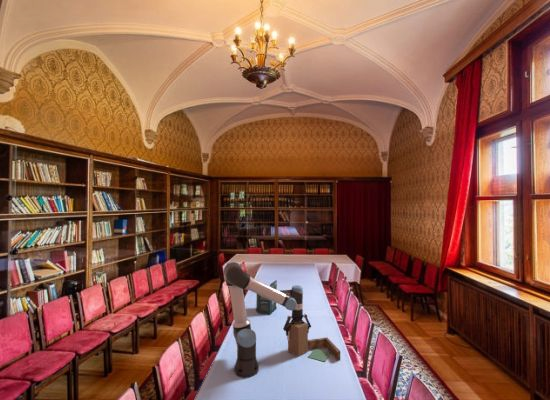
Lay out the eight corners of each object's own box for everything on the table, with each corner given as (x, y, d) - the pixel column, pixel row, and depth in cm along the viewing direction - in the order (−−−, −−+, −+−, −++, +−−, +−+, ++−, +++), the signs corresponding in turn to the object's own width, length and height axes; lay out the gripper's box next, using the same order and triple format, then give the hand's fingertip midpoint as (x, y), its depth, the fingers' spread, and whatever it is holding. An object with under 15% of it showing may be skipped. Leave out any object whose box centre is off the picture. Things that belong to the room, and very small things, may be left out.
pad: (324, 362, 196) (324, 361, 196) (307, 357, 202) (307, 356, 202) (330, 353, 207) (330, 353, 207) (314, 349, 212) (314, 348, 212)
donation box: (270, 315, 273) (270, 284, 272) (254, 312, 279) (254, 282, 278) (276, 308, 288) (276, 279, 287) (261, 306, 294) (261, 278, 293)
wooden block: (297, 346, 216) (297, 318, 216) (308, 351, 209) (308, 323, 209) (287, 351, 209) (287, 323, 209) (298, 357, 202) (298, 327, 202)
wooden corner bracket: (318, 363, 194) (318, 354, 194) (306, 348, 213) (306, 340, 213) (340, 360, 199) (340, 351, 198) (327, 345, 218) (327, 337, 218)
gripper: (281, 312, 202) (282, 343, 202) (315, 308, 209) (315, 338, 209) (278, 308, 209) (278, 338, 210) (311, 304, 216) (311, 334, 216)
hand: (297, 338), depth 209 cm, fingers closed on wooden block, 13 cm apart
